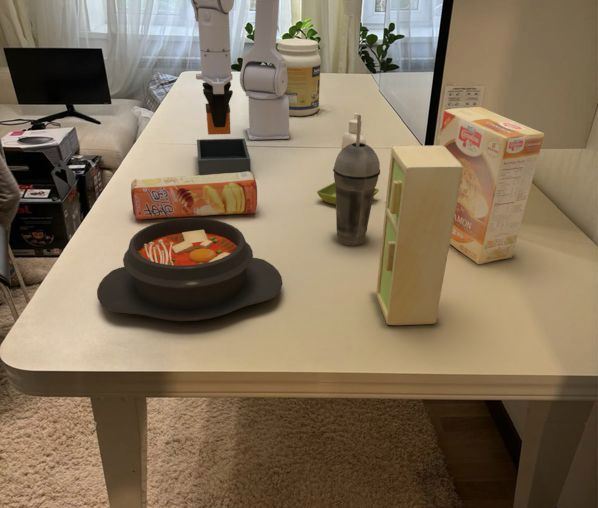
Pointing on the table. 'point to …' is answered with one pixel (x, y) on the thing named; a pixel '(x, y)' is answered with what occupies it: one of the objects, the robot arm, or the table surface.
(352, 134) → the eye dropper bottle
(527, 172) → the coffeecake box
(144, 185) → the snack package
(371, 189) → the beverage cup
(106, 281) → the casserole
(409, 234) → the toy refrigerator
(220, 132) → the orange rectangular block
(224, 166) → the bin
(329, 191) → the saucer
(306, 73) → the supplement tub
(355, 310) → the table surface
